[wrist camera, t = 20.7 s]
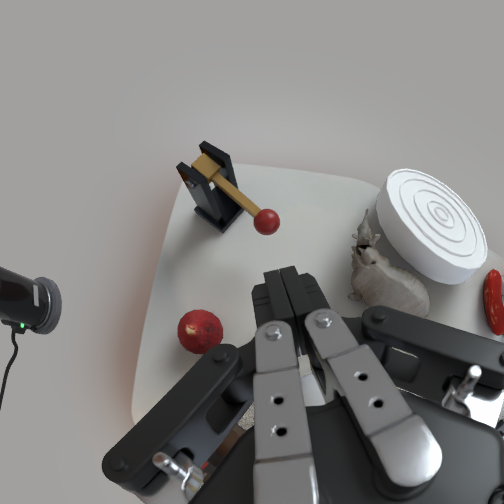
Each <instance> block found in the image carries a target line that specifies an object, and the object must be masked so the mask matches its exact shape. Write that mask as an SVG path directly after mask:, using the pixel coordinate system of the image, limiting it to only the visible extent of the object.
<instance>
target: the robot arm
mask: <svg viewBox="0 0 504 504" xmlns="http://www.w3.org/2000/svg"><path fill="white" fill-rule="evenodd" d="M279 272H280V273H279ZM263 274H264V278H265V283H264V284H259V285H255V286H254V288H253V290H252V292H251V294H252V300H253V306H254V313H255V319H256V325H257V331H256V333H255V337H254V338H253V339H252V340H251V341H250V342H249V343H247V344H245V345H243V346H241V347H239V348H236V347H235V346H233V345H231V344H219V345H216V346H214V347H212V348H210V349H209V350H208V351H207V352H206V353H205V354H204V355H203V356H202V357H201V358H200V359H199V360H198V361H197V363H196V364H195V365H194V366H193V367H192V368H191V369H190V370H189V371H188V372H187V373H186V374H185V375H184V376H183V377H182V378H181V379H180V380H179V381H178V382H177V384H176V385H175V386H174V387H173V388H172V389H171V390H170V391H169V392H168V393H167V394H166V395H165V396H164V397H163V398H162V399H161V400H160V401H159V402H158V403H157V404H156V405H155V406H154V407H153V408H152V409H151V410H150V411H149V412H148V413H147V414H146V415H145V416H144V417H143V418H142V419H141V420H140V421H139V422H138V423H137V424H136V425H135V426H134V427H133V428H132V429H131V430H130V431H129V432H128V433H127V434H126V435H125V436H124V437H123V438H122V439H121V440H120V441H119V442H118V443H117V444H116V445H115V446H114V447H113V448H111V449H110V450H109V452H107V453H106V455H105V456H104V458H103V461H102V471H103V473H104V475H105V476H106V477H107V478H108V479H109V480H111V481H112V482H114V483H116V484H118V485H119V486H121V487H122V488H123V489H125V490H127V491H129V492H131V493H133V494H135V495H136V496H137V497H138V498H139V499H140V500H141V501H143V502H144V503H145V504H504V440H503V438H502V436H501V434H500V433H499V432H498V431H497V430H496V429H495V427H496V424H497V420H498V417H499V414H500V410H501V406H502V402H503V399H504V343H501V342H498V341H495V340H491V339H488V338H485V337H482V336H478V335H475V334H472V333H469V332H465V331H462V330H459V329H456V328H453V327H449V326H446V325H443V324H440V323H437V322H434V321H430V320H427V319H424V318H421V317H418V316H415V315H411V314H408V313H405V312H402V311H399V310H396V309H393V308H390V307H386V306H381V305H378V306H372V307H370V308H368V309H366V310H365V311H364V312H363V314H362V317H358V318H345V317H341V316H340V315H339V314H338V313H337V312H336V311H334V310H332V309H331V308H330V306H329V304H328V302H327V300H326V298H325V296H324V294H323V292H322V291H321V289H320V287H319V285H318V283H317V281H316V279H315V277H313V276H311V275H310V274H308V273H305V274H301V275H298V273H297V270H296V268H295V266H290V267H286V268H281V269H279V270H278V269H277V270H273V271H269V272H265V273H263ZM51 311H52V296H51V292H50V290H49V288H48V287H47V286H46V285H45V284H44V283H41V282H37V281H34V280H32V279H29V278H27V277H24V276H22V275H19V274H17V273H14V272H12V271H9V270H7V269H4V268H2V267H0V320H1V322H2V323H3V324H4V325H9V326H11V328H12V335H11V337H12V343H13V345H14V347H15V349H14V354H13V356H12V358H11V359H10V361H9V363H8V365H7V367H6V371H5V374H4V378H3V384H2V388H1V393H0V409H1V403H2V399H3V394H4V389H5V385H6V380H7V376H8V372H9V369H10V367H11V365H12V363H13V362H14V360H15V358H16V356H17V353H18V346H17V343H16V341H15V333H18V334H24V333H25V331H26V329H30V330H36V328H40V327H42V326H44V325H45V324H46V323H47V321H48V320H49V317H50V315H51ZM392 347H394V348H397V349H400V350H402V351H405V352H408V353H410V354H413V355H415V356H417V357H418V358H416V357H413V356H410V355H408V354H405V353H402V352H399V351H397V350H394V349H392ZM299 348H300V350H299ZM300 351H301V354H302V356H303V355H307V354H308V357H309V360H310V368H311V371H312V373H313V375H314V378H315V380H316V382H317V385H318V387H319V389H320V391H321V394H322V396H323V398H324V401H325V404H324V405H320V406H305V403H304V397H303V391H302V385H301V379H300V374H299V362H298V357H299V356H300ZM396 386H397V387H399V388H402V389H404V390H407V391H409V392H412V393H414V394H417V395H419V396H422V397H424V398H427V399H429V400H432V401H435V402H437V403H440V404H442V406H440V405H437V404H435V403H432V402H430V401H428V400H425V399H423V398H421V397H418V396H416V395H414V394H411V393H409V392H407V391H403V390H400V389H397V387H396ZM253 401H254V426H252V427H251V428H249V429H248V430H247V431H246V432H244V433H243V434H242V435H241V436H240V437H239V438H238V440H237V441H236V442H235V444H234V445H233V446H232V448H231V449H230V451H229V452H228V453H227V455H226V456H225V457H224V459H223V460H222V461H221V463H220V464H219V465H218V467H217V468H216V469H215V470H214V472H213V473H212V474H211V476H210V477H209V478H208V479H207V481H206V482H205V483H204V484H203V486H202V487H201V488H200V486H201V485H202V483H203V479H204V475H203V471H202V469H201V467H202V466H203V464H204V463H205V462H206V461H207V460H208V459H209V457H210V456H211V455H212V454H213V453H214V451H215V450H216V449H217V448H218V447H219V445H220V444H221V443H222V442H223V440H224V439H225V438H226V437H227V435H228V434H229V433H230V432H231V430H232V429H233V428H234V427H235V425H236V424H237V423H238V421H239V420H240V419H241V418H242V416H243V415H244V414H245V412H246V411H247V410H248V408H249V407H250V406H251V404H252V403H253ZM199 488H200V489H199ZM198 490H199V491H198Z"/></svg>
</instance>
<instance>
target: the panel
mask: <svg viewBox="0 0 504 504" xmlns="http://www.w3.org/2000/svg"><path fill="white" fill-rule="evenodd" d="M244 432H246V431H245V430H244V429H243V428H241V427H240V426H239V425H238V424H236V425H235V427H234V428H233V429H232V430H231V432H230V433H229V434H228V435H227V437H226V438H225V439H224V440H223V442H222V443H221V444H220V445H219V447H218V448H217V449H216V450H215V452H216V453H218V454H219V455H220V456H222V457H223V458H224V457H225V456H226V455H227V453H228V452H229V451H230V449H231V448H232V446H233V445H234V444H235V442H236V441H237V440H238V438H239V437H240V436H241V435H242V434H243V433H244ZM201 469H202V468H201ZM202 471H203V475H204V479H203V483H205V482H206V481H207V479H208V478H209V477H210V476H211V475H210V474H209V473H207V472H206V471H205V470H203V469H202Z"/></svg>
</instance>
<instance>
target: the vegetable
mask: <svg viewBox="0 0 504 504" xmlns="http://www.w3.org/2000/svg"><path fill="white" fill-rule="evenodd" d="M484 303H485V310H486V316H487V320H488V323H489V326H490V328H491V331H492V332H493V334H496V335H497V336H499V335H504V306H503V302H502V279H501V275H500V273H499V272H498V271H497V270H494V269H493V270H491V271H490V272H489V273H488V275H487V276H486V279H485V284H484Z"/></svg>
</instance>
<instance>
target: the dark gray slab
mask: <svg viewBox="0 0 504 504" xmlns="http://www.w3.org/2000/svg"><path fill="white" fill-rule="evenodd" d="M223 459H224V458H223V457H222V456H220V455H219V454H218V453H216V452H215V451H214V453H213V454H212V455H211V456H210V457H209V459H208V460H207V461H206V462H205V463H204V464H203V466H202V467H201V468H202V469H203V470H205V471H206V472H207V473H209V474H210V475H211V474H212V473H213V472H214V470H215V469H216V468H217V467H218V465H219V464H220V463H221V461H222V460H223Z"/></svg>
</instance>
